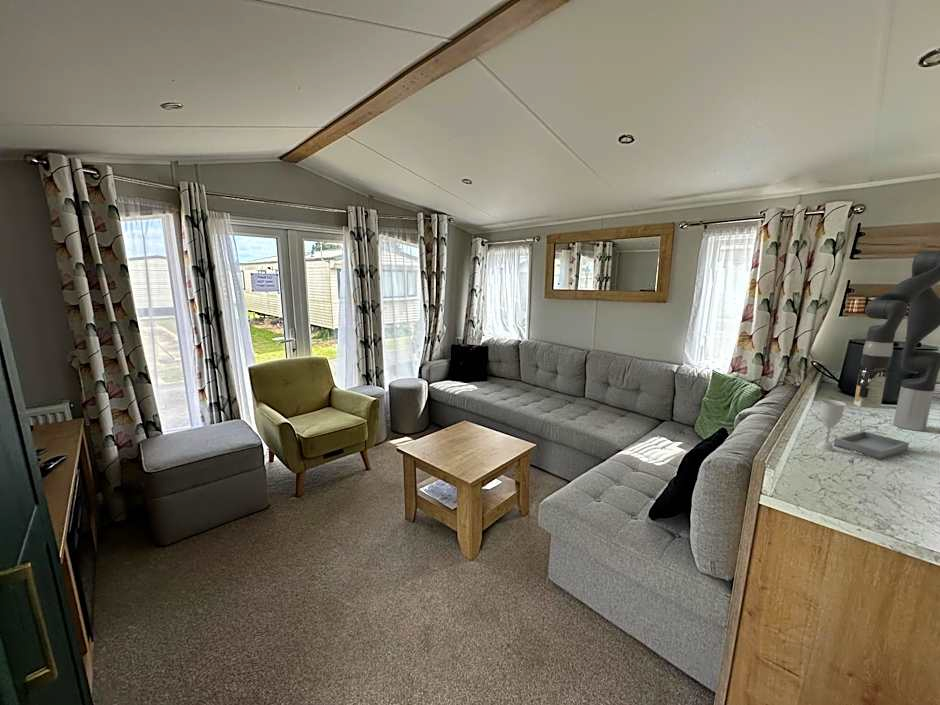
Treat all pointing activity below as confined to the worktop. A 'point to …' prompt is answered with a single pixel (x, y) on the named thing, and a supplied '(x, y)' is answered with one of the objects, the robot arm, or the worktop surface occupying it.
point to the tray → (871, 444)
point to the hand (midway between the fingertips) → (868, 396)
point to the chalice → (830, 420)
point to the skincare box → (871, 394)
